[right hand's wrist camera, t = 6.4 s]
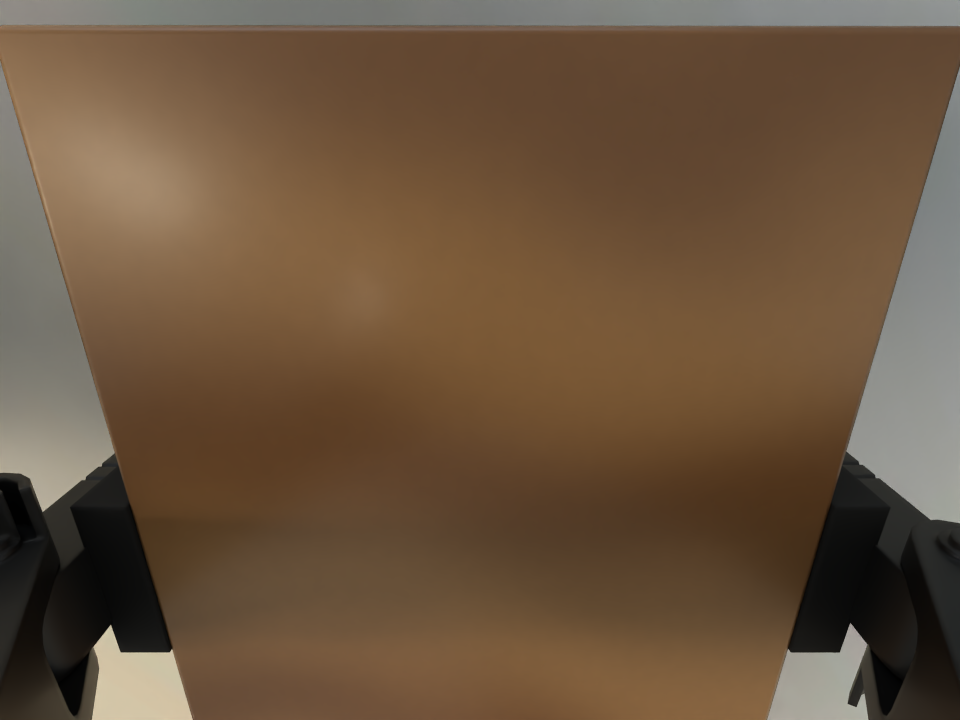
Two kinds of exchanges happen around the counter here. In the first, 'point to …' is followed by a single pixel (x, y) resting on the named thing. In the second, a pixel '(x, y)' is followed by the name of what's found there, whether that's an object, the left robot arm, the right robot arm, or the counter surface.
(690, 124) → the wooden beam
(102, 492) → the right robot arm
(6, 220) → the counter surface
